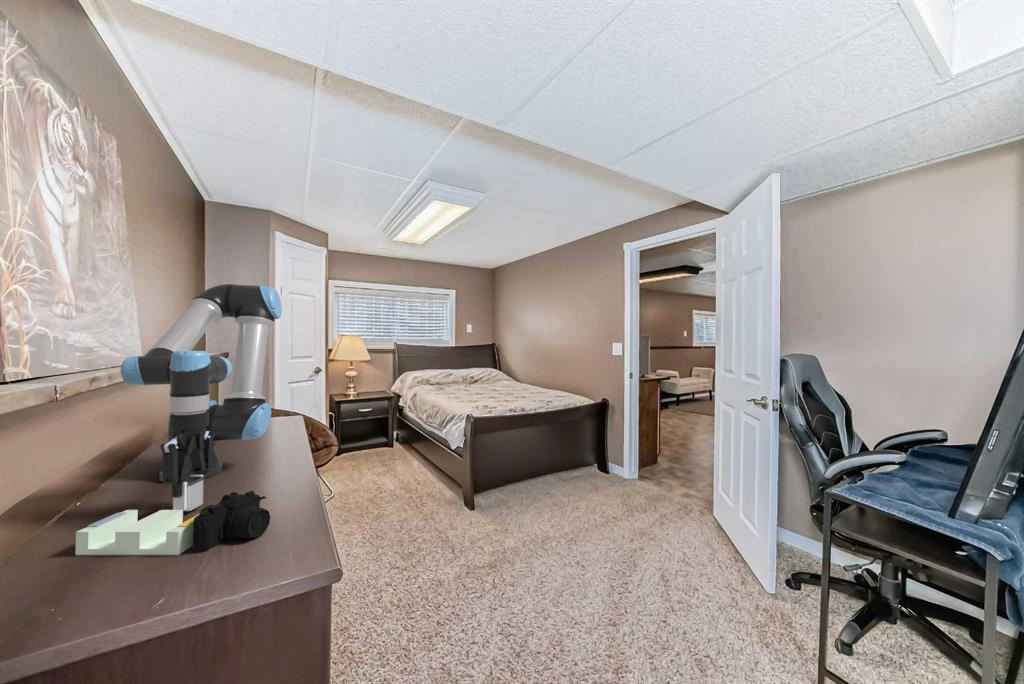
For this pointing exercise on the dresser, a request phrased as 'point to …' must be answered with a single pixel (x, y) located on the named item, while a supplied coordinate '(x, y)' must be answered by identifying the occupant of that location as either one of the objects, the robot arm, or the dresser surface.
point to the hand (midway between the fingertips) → (188, 504)
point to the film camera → (229, 521)
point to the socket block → (137, 534)
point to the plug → (194, 492)
